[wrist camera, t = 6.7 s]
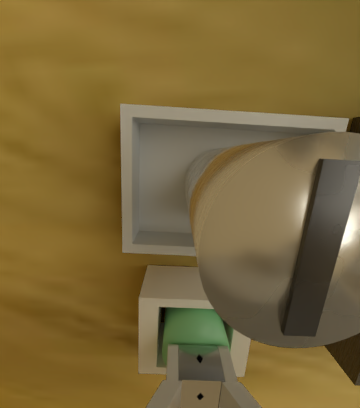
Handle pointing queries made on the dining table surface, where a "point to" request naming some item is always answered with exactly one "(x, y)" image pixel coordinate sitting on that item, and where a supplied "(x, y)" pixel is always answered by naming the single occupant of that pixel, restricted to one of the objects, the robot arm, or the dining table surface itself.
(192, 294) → the box
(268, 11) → the dining table surface
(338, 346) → the dark two-compartment tray
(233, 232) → the cylinder
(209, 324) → the button
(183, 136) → the tote
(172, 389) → the robot arm
